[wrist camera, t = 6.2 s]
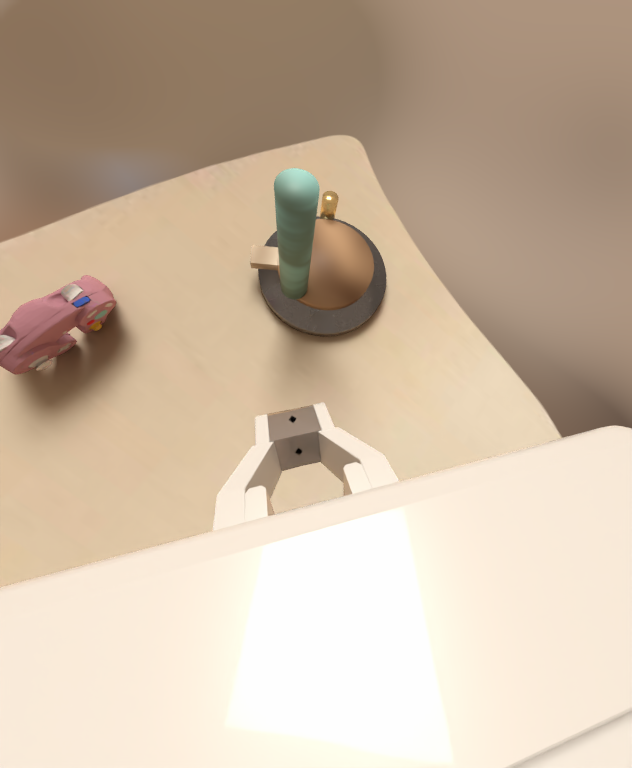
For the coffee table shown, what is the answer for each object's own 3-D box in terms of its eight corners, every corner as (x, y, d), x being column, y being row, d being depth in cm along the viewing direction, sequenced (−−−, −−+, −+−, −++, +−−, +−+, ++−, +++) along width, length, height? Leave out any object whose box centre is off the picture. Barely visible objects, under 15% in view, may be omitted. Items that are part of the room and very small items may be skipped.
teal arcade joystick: (318, 202, 27) (337, 54, 16) (390, 271, 26) (458, 164, 16) (242, 258, 25) (206, 129, 14) (318, 335, 24) (340, 260, 13)
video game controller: (55, 377, 24) (4, 387, 18) (4, 342, 22) (-74, 340, 16) (138, 312, 26) (118, 301, 20) (97, 275, 24) (60, 250, 18)
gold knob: (332, 229, 27) (337, 205, 24) (318, 227, 27) (321, 202, 24) (333, 217, 28) (339, 192, 25) (320, 215, 28) (323, 189, 25)
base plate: (378, 345, 26) (384, 339, 25) (249, 325, 25) (246, 318, 24) (386, 235, 29) (391, 224, 28) (269, 213, 28) (268, 201, 26)
